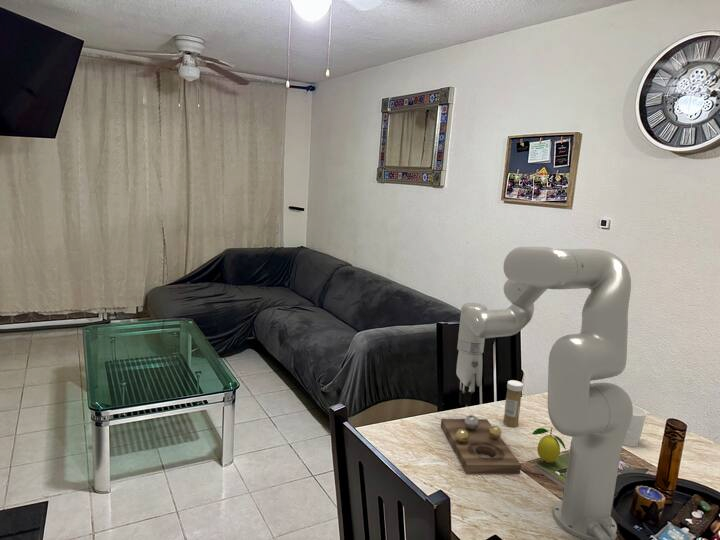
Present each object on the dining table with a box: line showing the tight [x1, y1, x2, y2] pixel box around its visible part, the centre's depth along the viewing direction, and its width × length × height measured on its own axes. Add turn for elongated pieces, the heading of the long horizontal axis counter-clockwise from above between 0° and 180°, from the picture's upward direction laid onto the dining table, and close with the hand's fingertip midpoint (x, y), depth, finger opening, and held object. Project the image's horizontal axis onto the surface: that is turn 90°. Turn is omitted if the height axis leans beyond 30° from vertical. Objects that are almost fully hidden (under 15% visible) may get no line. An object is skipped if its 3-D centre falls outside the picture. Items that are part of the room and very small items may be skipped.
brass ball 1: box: [456, 429, 469, 443], centre depth 131 cm, size 4×4×4 cm
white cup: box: [623, 404, 647, 448], centre depth 142 cm, size 8×8×10 cm
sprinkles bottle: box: [502, 379, 524, 428], centre depth 148 cm, size 5×5×13 cm
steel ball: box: [464, 414, 479, 430], centre depth 138 cm, size 4×4×4 cm
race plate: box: [440, 418, 522, 475], centre depth 133 cm, size 24×14×2 cm, turn 6°
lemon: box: [531, 427, 567, 464], centre depth 127 cm, size 7×6×10 cm
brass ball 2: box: [488, 425, 502, 439], centre depth 134 cm, size 4×4×4 cm
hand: (464, 403), depth 145 cm, fingers closed
